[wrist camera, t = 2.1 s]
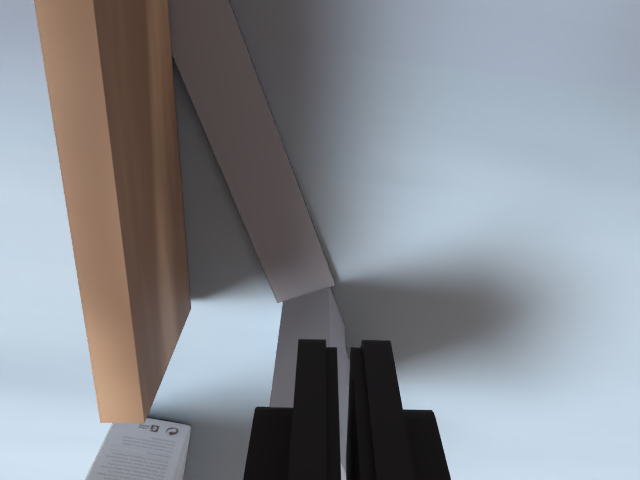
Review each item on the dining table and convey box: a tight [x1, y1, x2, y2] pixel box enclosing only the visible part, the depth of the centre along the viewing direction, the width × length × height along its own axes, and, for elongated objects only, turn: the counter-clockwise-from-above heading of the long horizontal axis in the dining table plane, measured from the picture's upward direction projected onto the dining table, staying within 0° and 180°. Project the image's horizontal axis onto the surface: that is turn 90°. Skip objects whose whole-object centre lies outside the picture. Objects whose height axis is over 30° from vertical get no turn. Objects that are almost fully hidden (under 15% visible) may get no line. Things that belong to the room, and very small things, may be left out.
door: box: [34, 0, 191, 423], centre depth 22 cm, size 2×19×8 cm, turn 179°
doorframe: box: [167, 0, 350, 480], centre depth 22 cm, size 3×28×11 cm, turn 19°
